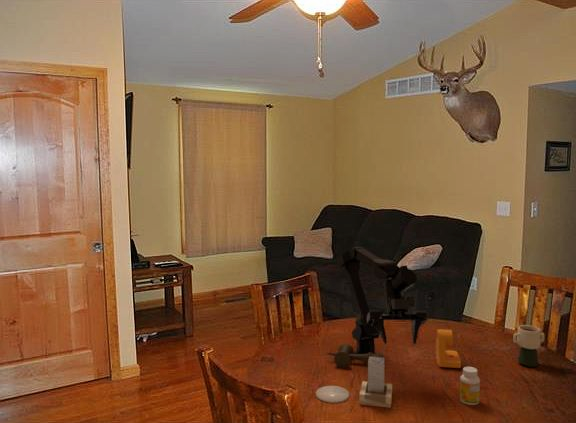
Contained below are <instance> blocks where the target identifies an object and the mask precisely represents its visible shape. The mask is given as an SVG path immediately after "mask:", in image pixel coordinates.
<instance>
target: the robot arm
mask: <svg viewBox="0 0 576 423" xmlns="http://www.w3.org/2000/svg"><path fill="white" fill-rule="evenodd" d="M361 264H363V265H365V267H368V269H370V270H371V271H372V275H373V276H374V277H375V278H376V279H377V280H379V281H380V280H385V281H383V284H382V285H381V290H384V297H385V307H386V313H383V311H382V310H381V309H370V306H369V303H368V299H367V296H366V292H365V289H364V287H363V284H362V281H361V277H360V271H361V268H362V266H361ZM336 266H337V267H338V270H339V272H340V274H341V275H343V276H344V277H345V279H346V281H347V285H348V287H349V291H350V294H351V298H352V302H353V303H354V308H355V311H356V319H355V327H354V329H352V332H351V336H352V339H354V340H355V341H356V351H353V354H367V353H369V352H371V353H373V354H378V353H377V352H376V349H375V348H376V346H375V339H379V338H381V339H382V342H383V344H385V345H386V344H387V343H388V342H387V341H388V340H387V335H386V334H387V333H386V329H385V324H384V323H385V322H384V321H410V323H411V325H410V327H411V337H412V338H411V339H412V342H413V344H414V345H416V343H417V340H418V335H419V330H420V327H421V326H422V325H425V324H426V323H427V321H428V320H429V315H428V312H427V311H426V310H414V311H413V313H411V314H410V313H408V311H410V308H415V306H416V301H415V297H414V296H407V297H406V298H405V296H404V293H403V292H406V291H407V290H408V289H410V288H411V287H412V286H413V285H415V284H416V282H417V280H418V277H417V275H416V273H415V272H414V271H413V270H412V269H410V268H409V267H408V266H407V265H401V266H398V265H397V263H396V262H395V261H393V260H390V259H383V258H380V257H378V256H377V255H376V254H373V253H372V252H370V251H368V250H367V249H366V248H365V247H363V246H354V247H352V248H350V249H348V250H347V251H346V252H343V253H342V254H340V255H339V256H338V258H336Z"/></svg>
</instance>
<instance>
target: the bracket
mask: <svg viewBox="0 0 576 423" xmlns="http://www.w3.org/2000/svg"><path fill="white" fill-rule="evenodd" d="M453 336H454V335H453V330H452V329H443V328H442V329H440V328H439V329H438V328H437V330H436V341H435V357H436V362H437V366H439V368H442V367H443V368H455V369H460V368H462V360H461V357H460V356H459V354H458V351H456V350H450V349H449V350H447V348H446V346H448V347H449V346H450V347H451V346H452V347H453V343H454V337H453Z"/></svg>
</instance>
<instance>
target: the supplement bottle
mask: <svg viewBox="0 0 576 423" xmlns="http://www.w3.org/2000/svg"><path fill="white" fill-rule="evenodd" d="M459 379H460V381H459V384H460V385H459V400H460V402H461V403H463V404H466V405H469V406H477V405H478V404H480V392H481V391H480V389H481V388H480V386H481V379H480V377H479V376H478V369H477V368H476V367H472V366H464V367H463V368H462V374H461V375H460V377H459Z"/></svg>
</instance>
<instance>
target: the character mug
mask: <svg viewBox="0 0 576 423" xmlns="http://www.w3.org/2000/svg"><path fill="white" fill-rule="evenodd" d="M541 331H542V329H540V328H539V327H538V326H534V325H527V324H521V325H519V326H517V333H514V334H512V337H513V338H512V341H513V343H515V344H517V345H518V346H519V347H520V348H519V352H518V353H519V354H518V358H517V359H518V360H517V362H518V363H519V364H521V365H523V366H527V367H531V368H532V367H537V366H539V356H538V351H537V349H539V348H540V346H541V343H544V342H545V333H544V332H541Z"/></svg>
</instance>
